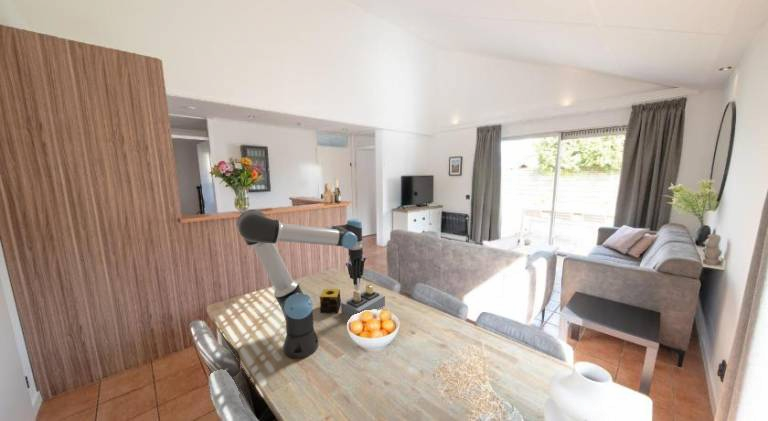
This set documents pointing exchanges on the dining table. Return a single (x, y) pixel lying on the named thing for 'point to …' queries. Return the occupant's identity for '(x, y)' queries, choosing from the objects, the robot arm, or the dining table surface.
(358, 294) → the beech peg
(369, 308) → the socket block
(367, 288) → the brass peg
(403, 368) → the dining table surface
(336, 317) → the dining table surface
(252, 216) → the robot arm
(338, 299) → the candle
